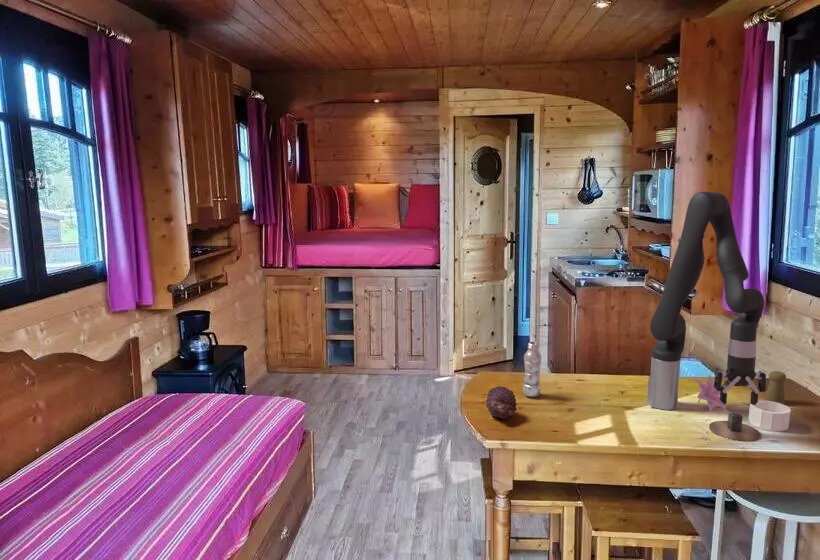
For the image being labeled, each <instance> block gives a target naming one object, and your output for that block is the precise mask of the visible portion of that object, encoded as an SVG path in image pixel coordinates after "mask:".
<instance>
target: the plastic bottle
mask: <svg viewBox="0 0 820 560" xmlns="http://www.w3.org/2000/svg"><path fill="white" fill-rule="evenodd" d="M542 358H543V357H542V355H541V353H540V351H539V343H538V342H537V341H529V342H528V343H527V350H526V352H525V353H524V355H523V362H524V363H523V364H524V381H523V386H522V391H523V394H524V395H525V396H526V397H529V398H536V397H539V396H540V395H541V391H542V387H541V380H540V379H541V378H540V377H541V376H540V374H541V373H540V372H541V365H542V360H543V359H542Z"/></svg>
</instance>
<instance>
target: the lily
mask: <svg viewBox="0 0 820 560" xmlns="http://www.w3.org/2000/svg"><path fill="white" fill-rule="evenodd" d="M696 382H697V384H698V386H699V388H700V392H699V393H698V394H697V399H698V401H697V402H698V403H699V402H700V401H701V400H703V401H706V402H707V405H708V408H709V411H710V412H712V411H713V409H714V406H715V405H717V406H719V407H720V408H722V409H726V408H727V406H726V404H723V403H722V402H721V401H720V391H717V390H716V389H715V388H714V379H713V377H712V376H711V375H710V374H709V375H708V377H707V379H706V382H705V383H704V382H702V381H700V380H696Z"/></svg>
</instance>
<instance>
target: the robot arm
mask: <svg viewBox="0 0 820 560" xmlns="http://www.w3.org/2000/svg"><path fill="white" fill-rule="evenodd" d="M731 210H732V209H731V205H730V202H729V200H728V197H727V196H726V195H725V194H723V193H722V192H721V193H720V192H717V191H699V192H696V193H695V194H694V195H692V197H691V198H690V200H689V202H688V205H687V208H686V213H685V219H684V223H683V228H682V232H681V235H680V238H679V241H678V245H677V247H676V251H675V254H674V255H673V256H674V257H673V259H672V263H671V265H670V268H669V271H668V274H667V278H666V281H665V285H664V288H663V291H662V294H661V297H660V299H659V302H658V305H657V307H656V309H655V311H654V313H653V315H652V318H651V321H650V324H649V330H650V334H651V335H652V337H653V338H654V339H656V340H657V341H656V343H655V345H654V346H653V348H652V351H651V361H650V363H651V364H650V375H648V378H647V379H648V382H647V394H646V395H647V397H646V402H647V404H649V406H650V408H655V409H658V410H659V409H660V410H664V411H665V410H667V411H668V410H670V411H671V410H676V409H677V408H678V401H679V389H680V388H679V386H680V372H681V364H682V363H681V361H682V360H681V359H682V354H683V352H684V350H685V342H686V341H685V340H686V335H687V324H686V320H685V318H684V317H683V314H681V310H682V308H683V306H684V304H685V302H686V301H687V299H688V298H689V296H690V295H691V294H692V292H693V291H694V289H695V288H696V285H697V284H698V281H699V280H700V277H701V273H702V271H703V268H704V265H705V250H704V244H703V243H704V242H703V241H704V236H705V232H706V230H707V226H708V224H709V223H710V225H711V227H712V229H713V231H714V235H715V240H716V242H715V243H716V244H715V245H716V247H715V255H716V261H717V265H718V267H719V270H720V273H721V277H722V278H723V288H724V290H723V291H724V298H725V303H726V305H727V307H728V308H729V309H730V311H732V312H734V313H735V314H738V316H737V317H736V318H735V319H733V320H732V321H731V323H730V328H729V329H730V330H729V342H728V346H727V361H726V362H727V363H726V370H725V371H722V370H719V369H717V370H715V373H714V380H713V382H714V388H715V389H716V390H717V391H720V395H719V397H720V401H721V402H722V403H723V404H724V405H727V403H728V400H727V399H728V393H727V392H728V391H729V390H730V389H732V388H733V387H734V386H735V387H740V386H742V387H747V386H748V387H749V388H750V389H751V392H750V401H749V402H750V403H751V404H752V405H756V403H757V402H758V400H759V394H760V393H765V392H767V374H766V373H765V372H764V371H763V370H759V371H757V372H756V371H755V370H756V360H757V359H756V358H757V332H758V330H757V328H758V325H759V323H760V320H761V318H762V314H763V311H764V306H765V298H764V295H763V293H762V292H761V291H760V290H758V289H757V288H752V287H751V288H745V286H744V281H747V280H748V279H749V277H750V273H749V270H748V268H747V266H746V262H745V260H744V257H743V255H742V252H741V250H740V247H739V246H740V245H739V243H738V238H737V234H736V231H735V229H736V228H735V225H734V221H733V214H732V211H731ZM725 377H727V378H726V380H724V381H723V379H724V378H725ZM755 378H757V384H758V385H757V386H756V385H755V383H754V381H753V380H754V379H755ZM722 382H723V384H722Z"/></svg>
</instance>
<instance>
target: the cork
mask: <svg viewBox="0 0 820 560" xmlns="http://www.w3.org/2000/svg"><path fill="white" fill-rule="evenodd" d="M768 379H769V384H768V386H767V387H768V388H767V389H766V395H765V398H764V401H772V402H777V403H780V404H783V405H785V403H786V401H785V397H786V396H785V384H784V383H785V382H786V380H787V375H786V374H785V373H784V372H782V371H779V370H777V371H776V370H774V371H773V370H772V371H770V372H769V374H768Z"/></svg>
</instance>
